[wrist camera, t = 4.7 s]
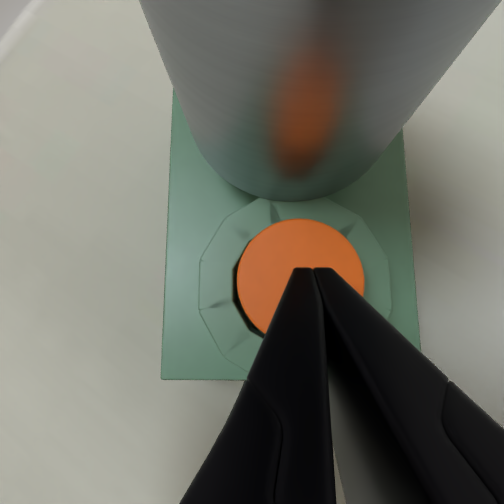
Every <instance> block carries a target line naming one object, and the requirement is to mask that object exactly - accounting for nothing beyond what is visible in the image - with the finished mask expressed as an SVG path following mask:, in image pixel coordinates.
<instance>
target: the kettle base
mask: <svg viewBox="0 0 504 504" xmlns="http://www.w3.org/2000/svg"><path fill="white" fill-rule="evenodd" d="M297 218H301V219H311V220H316V221H319V222H322V223H324V224H326V225H329V226H331V227H332V228H334V229H335V230H337V231H338V232H340V233H341V234H342V235H343V236H344V237H345V238H346V239H347V240H348V241H349V242H350V243H351V245H352V246H353V248H354V249H355V251H356V253H357V254H358V256H359V259H360V261H361V264H362V268H363V272H364V294H363V298H364V299H365V300H366V301H367V302H368V303H369V304H371V305H372V306H373V307H374V308H375V309H376V310H377V311H378V312H379V313H380V314H381V315H382V316H383V317H384V318H385V319H386V320H387V321H388V322H390V323H391V324H392V325H393V326H394V327H395V328H396V329H397V330H398V331H399V332H400V333H401V334H402V335H403V336H404V337H405V338H406V339H407V340H409V341H410V342H411V343H412V344H413V345H414V346H415V347H416V348H417V349H418V350H419V351H420V352H421V347H420V335H419V323H418V311H417V299H416V287H415V275H414V263H413V251H412V239H411V227H410V215H409V202H408V190H407V178H406V166H405V154H404V142H403V130H402V129H401V130H400V131H399V132H398V134H397V135H396V136H395V138H394V139H393V140H392V141H391V143H390V144H389V145H388V146H387V148H386V149H385V150H384V152H383V153H382V154H381V155H380V157H379V158H378V159H377V161H376V162H375V163H374V164H373V165H372V166H371V168H370V169H369V170H368V171H367V172H366V173H365V174H363V175H362V176H361V177H360V178H359V179H358V180H356V181H355V182H353V183H352V184H350V185H349V186H347V187H346V188H344V189H342V190H339V191H337V192H335V193H333V194H330V195H327V196H324V197H321V198H317V199H312V200H307V201H294V202H290V201H276V200H270V199H265V198H261V197H258V196H255V195H252V194H249V193H247V192H245V191H243V190H241V189H239V188H237V187H235V186H234V185H232V184H231V183H229V182H227V181H226V180H225V179H224V178H222V177H221V176H220V175H219V174H218V173H216V172H215V170H214V169H213V168H212V167H211V166H210V165H209V164H208V163H207V161H206V160H205V158H204V157H203V156H202V154H201V153H200V151H199V149H198V147H197V145H196V143H195V141H194V138H193V136H192V133H191V131H190V128H189V126H188V123H187V121H186V118H185V116H184V113H183V111H182V108H181V105H180V103H179V100H178V98H177V95H176V93H175V90H174V88H173V104H172V127H171V150H170V173H169V196H168V219H167V242H166V265H165V288H164V311H163V334H162V357H161V379H162V380H247V375H248V373H249V371H250V368H251V366H252V364H253V362H254V359H255V357H256V355H257V352H258V350H259V348H260V345H261V343H262V341H263V338H264V336H265V334H264V333H263V332H262V331H261V330H259V329H258V328H257V327H256V326H255V325H254V324H253V323H252V321H251V320H250V319H249V317H248V316H247V314H246V313H245V311H244V309H243V307H242V305H241V302H240V299H239V295H238V289H237V272H238V267H239V263H240V260H241V257H242V255H243V253H244V251H245V249H246V247H247V246H248V244H249V243H250V242H251V241H252V239H253V238H254V237H255V236H256V235H257V234H258V233H260V232H261V231H262V230H264V229H265V228H267V227H268V226H270V225H272V224H274V223H277V222H280V221H283V220H288V219H297Z"/></svg>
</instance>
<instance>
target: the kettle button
mask: <svg viewBox="0 0 504 504" xmlns="http://www.w3.org/2000/svg"><path fill="white" fill-rule="evenodd" d="M295 267H310V268H312V269H313V268H315V267H331V268H332V269H334V270H335V271H336V272H337V273H338V274H339V275H340V276H341V277H342V278H343V279H344V280H345V281H346V282H347V283H348V284H349V285H351V286H352V287H353V288H354V289H355V290H356V291H357V292H358V293H359V294H360V295H361V296H362V297H363V294H364V272H363V268H362V264H361V261H360V259H359V256H358V254H357V253H356V251H355V249H354V248H353V246H352V245H351V243H350V242H349V241H348V240H347V239H346V238H345V237H344V236H343V235H342V234H341V233H340V232H338V231H337V230H335V229H334V228H332V227H331V226H329V225H326V224H324V223H322V222H319V221H316V220H311V219H301V218H297V219H288V220H283V221H280V222H277V223H274V224H272V225H270V226H268V227H267V228H265V229H264V230H262V231H261V232H260V233H258V234H257V235H256V236H255V237H254V238H253V239H252V241H251V242H250V243H249V244H248V246H247V247H246V249H245V251H244V253H243V255H242V257H241V260H240V263H239V267H238V272H237V289H238V295H239V299H240V302H241V305H242V307H243V309H244V311H245V313H246V314H247V316H248V317H249V319H250V320H251V321H252V323H253V324H254V325H255V326H256V327H257V328H258V329H259V330H261V331H262V332H263V333H264V334H266V331H267V329H268V327H269V324H270V322H271V320H272V317H273V315H274V313H275V310H276V308H277V306H278V303H279V301H280V299H281V296H282V294H283V292H284V289H285V287H286V285H287V282H288V280H289V278H290V275H291V273H292V271H293V269H294V268H295Z"/></svg>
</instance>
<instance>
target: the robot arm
mask: <svg viewBox="0 0 504 504" xmlns="http://www.w3.org/2000/svg"><path fill="white" fill-rule="evenodd" d="M332 442H333V445H332ZM333 447H334V451H335V456H336V460H337V464H338V469H339V473H340V478H341V482H342V487H343V491H344V496H345V500H346V504H504V429H503V428H502V427H501V426H500V425H499V424H497V423H496V422H495V421H494V420H493V419H492V418H491V417H490V416H489V415H488V414H486V413H485V412H484V411H483V410H482V409H481V408H480V407H479V406H478V405H477V404H475V403H474V402H473V401H472V400H471V399H470V398H469V397H468V396H467V395H466V394H465V393H464V392H463V391H462V390H461V389H459V388H458V387H457V386H456V385H455V384H454V383H453V382H451V381H449V382H448V378H447V376H445V375H444V374H443V373H442V372H441V371H440V370H439V369H438V368H437V367H436V366H435V365H434V364H433V363H432V362H431V361H430V360H429V359H428V358H426V357H425V356H424V355H423V354H422V353H421V352H420V351H419V350H418V349H417V348H416V347H415V346H414V345H413V344H412V343H411V342H410V341H409V340H407V339H406V338H405V337H404V336H403V335H402V334H401V333H400V332H399V331H398V330H397V329H396V328H395V327H394V326H393V325H392V324H391V323H390V322H388V321H387V320H386V319H385V318H384V317H383V316H382V315H381V314H380V313H379V312H378V311H377V310H376V309H375V308H374V307H373V306H372V305H371V304H369V303H368V302H367V301H366V300H365V299H364V298H363V297H362V296H361V295H360V294H359V293H358V292H357V291H356V290H355V289H354V288H353V287H352V286H351V285H349V284H348V283H347V282H346V281H345V280H344V279H343V278H342V277H341V276H340V275H339V274H338V273H337V272H336V271H335V270H334V269H332V268H331V267H315V268H313V269H312V268H310V267H295V268H294V269H293V271H292V273H291V275H290V278H289V280H288V282H287V285H286V287H285V289H284V292H283V294H282V296H281V299H280V301H279V303H278V306H277V308H276V310H275V313H274V315H273V317H272V320H271V322H270V324H269V327H268V329H267V331H266V334H265V336H264V338H263V341H262V343H261V345H260V348H259V350H258V352H257V355H256V357H255V359H254V362H253V364H252V366H251V368H250V371H249V373H248V375H247V380H246V381H245V382H244V384H243V386H242V389H241V391H240V393H239V396H238V398H237V400H236V402H235V404H234V406H233V409H232V411H231V413H230V415H229V417H228V419H227V421H226V423H225V425H224V427H223V429H222V431H221V433H220V435H219V436H218V438H217V440H216V442H215V444H214V445H213V447H212V449H211V451H210V453H209V454H208V456H207V458H206V460H205V461H204V463H203V465H202V466H201V468H200V470H199V471H198V473H197V475H196V476H195V478H194V480H193V481H192V483H191V485H190V487H189V488H188V490H187V492H186V493H185V495H184V497H183V498H182V500H181V502H180V503H179V504H336V491H335V476H334V460H333Z"/></svg>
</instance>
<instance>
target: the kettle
mask: <svg viewBox="0 0 504 504" xmlns="http://www.w3.org/2000/svg"><path fill="white" fill-rule="evenodd" d="M501 1H502V0H139V2H140V4H141V7H142V9H143V12H144V14H145V17H146V19H147V22H148V24H149V27H150V29H151V32H152V35H153V37H154V40H155V42H156V45H157V47H158V50H159V52H160V55H161V57H162V60H163V62H164V65H165V67H166V70H167V73H168V75H169V78H170V80H171V83H172V85H173V88H174V90H175V93H176V95H177V98H178V100H179V103H180V105H181V108H182V111H183V113H184V116H185V118H186V121H187V123H188V126H189V128H190V131H191V133H192V136H193V138H194V141H195V143H196V145H197V147H198V149H199V151H200V153H201V154H202V156H203V157H204V158H205V160H206V161H207V163H208V164H209V165H210V166H211V167H212V168H213V169H214V170H215V172H216V173H218V174H219V175H220V176H221V177H222V178H224V179H225V180H226V181H227V182H229V183H231V184H232V185H234V186H235V187H237V188H239V189H241V190H243V191H245V192H247V193H249V194H252V195H255V196H258V197H261V198H265V199H270V200H276V201H290V202H294V201H307V200H312V199H317V198H321V197H324V196H327V195H330V194H333V193H335V192H337V191H339V190H342V189H344V188H346V187H347V186H349V185H350V184H352V183H353V182H355V181H356V180H358V179H359V178H360V177H361V176H362V175H363V174H365V173H366V172H367V171H368V170H369V169H370V168H371V166H372V165H373V164H374V163H375V162H376V161H377V159H378V158H379V157H380V155H381V154H382V153H383V152H384V150H385V149H386V148H387V146H388V145H389V144H390V143H391V141H392V140H393V139H394V138H395V136H396V135H397V134H398V132H399V131H400V130H401V129H402V127H403V126H404V125H405V123H406V122H407V121H408V120H409V118H410V117H411V116H412V114H413V113H414V112H415V111H416V109H417V108H418V107H419V106H420V104H421V103H422V102H423V100H424V99H425V98H426V97H427V95H428V94H429V93H430V91H431V90H432V89H433V88H434V86H435V85H436V84H437V82H438V81H439V80H440V79H441V77H442V76H443V75H444V74H445V72H446V71H447V70H448V68H449V67H450V66H451V65H452V63H453V62H454V61H455V59H456V58H457V57H458V56H459V54H460V53H461V52H462V50H463V49H464V48H465V47H466V45H467V44H468V43H469V42H470V40H471V39H472V38H473V36H474V35H475V34H476V33H477V31H478V30H479V29H480V27H481V26H482V25H483V24H484V22H485V21H486V20H487V18H488V17H489V16H490V15H491V13H492V12H493V11H494V10H495V8H496V7H497V6H498V4H499V3H500V2H501Z"/></svg>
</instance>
